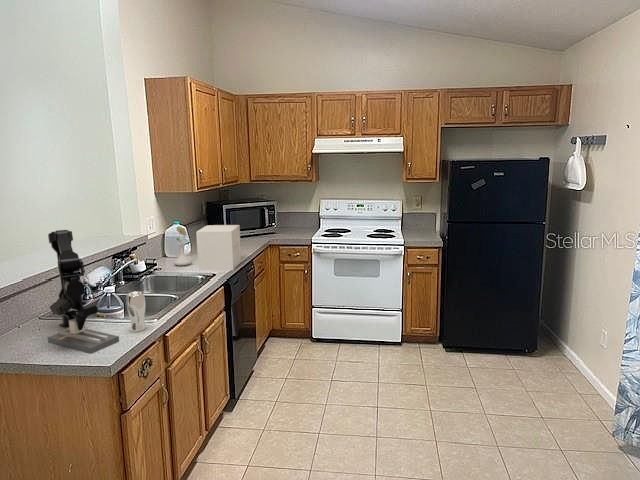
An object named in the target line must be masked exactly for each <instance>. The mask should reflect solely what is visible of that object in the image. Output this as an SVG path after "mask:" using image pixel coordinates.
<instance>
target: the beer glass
mask: <svg viewBox="0 0 640 480" xmlns="http://www.w3.org/2000/svg"><path fill="white" fill-rule="evenodd" d="M126 308H127V309H126V310H127V314H128V316H129V320H130V329H129V330H130V331H131V332H133V333H140V332H143V331H145V330H146V329H147V324H146V321H145V320H146V319H145V314H146V298H145V292H144V291H131V292H128V293H127V294H126Z"/></svg>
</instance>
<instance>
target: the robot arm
mask: <svg viewBox="0 0 640 480" xmlns="http://www.w3.org/2000/svg"><path fill="white" fill-rule="evenodd" d="M47 236H48V237H47V238H48V243H49V244H50V247H51V249H52V250H53V251H54V252H55V253H56V257H57V259H56V260H57V269H58V273H59V278H60V279H59V280H60V286H61V289H60V291H59V293H58V299H56V301H55V302H53V303H52V304H51V305H50V306H49V309H50V311H51V313H52V314H53V315H57V316H62V317H61V318H62V323H60V324H59V326H60V327H64V328H68V327H69V320H71V319H74V318H76V321H77V326H78V329H79V330H82V328H83V326H85V323H86V320H87V318H88V317H89V316H92V315H94V314H95V315H96V314H97V313H99V307H98V306H97V305H95V304H90V303H89V304H87V303H86V301H83V295H85V285H84V283H83V281H82V280H81V277H84V276H85V273H86V269H85V266H84V265H85V264H84V261H83V260H82V259H81V258H79V255H78V253H76V252H74V250H73V247H72V242H73V241H74V237H73V231H72V230H71V231H70V230H68V229H62V230H61V229H60V230H59V229H58V230H55V231H51V232H50V233H48V235H47Z"/></svg>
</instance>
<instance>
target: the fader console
mask: <svg viewBox="0 0 640 480" xmlns="http://www.w3.org/2000/svg"><path fill="white" fill-rule="evenodd" d="M65 328H66V330H62V329H60V330H58V332H57V333H55V334H53V335H50V336H47V342H48V343H50V344H53V345H56V346H57V345H58V346H62V347H65V348H69V349H73V350H75V351H80V352H84V353H88V354H94V353H96V352H98V351H101V350H102V349H105V348H107V347H110V346H112V345H114V344H116V343H119V342H120V336H119V335H116V334H115V335H114V334H111V333H106V332H101V331H98V330H93V329H88V328H85V331H83V332H80V334H72V333H70V327H65Z"/></svg>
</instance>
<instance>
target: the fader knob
mask: <svg viewBox="0 0 640 480" xmlns="http://www.w3.org/2000/svg"><path fill="white" fill-rule="evenodd" d="M69 327H70V333H72V334H80V332H83V331H85V329H86V328H85V325H84V326H83V328H82V330H79V329H78V326H77V321H76V318H74V319H71V320H69Z"/></svg>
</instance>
